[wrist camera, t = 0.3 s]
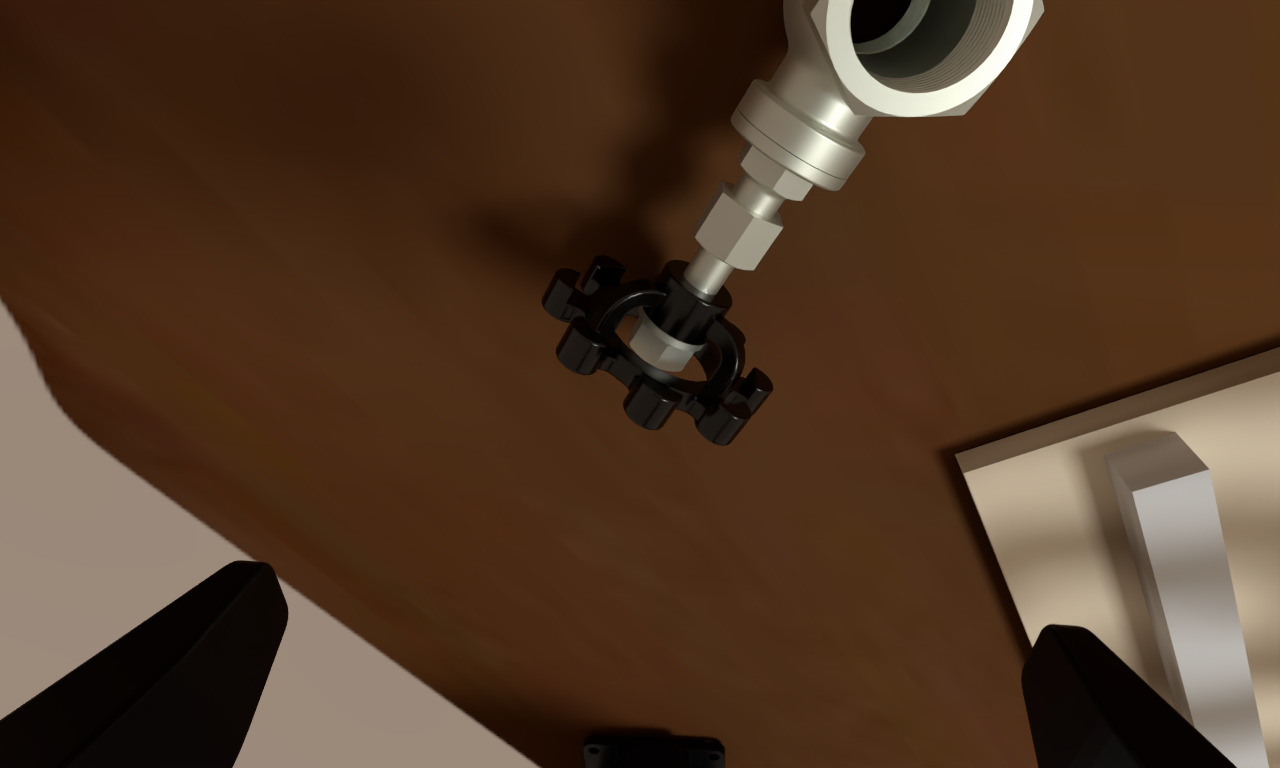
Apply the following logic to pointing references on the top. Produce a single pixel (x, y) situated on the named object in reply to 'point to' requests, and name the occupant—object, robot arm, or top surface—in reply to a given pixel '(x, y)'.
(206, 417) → the top surface
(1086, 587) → the din board
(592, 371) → the valve
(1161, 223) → the top surface
